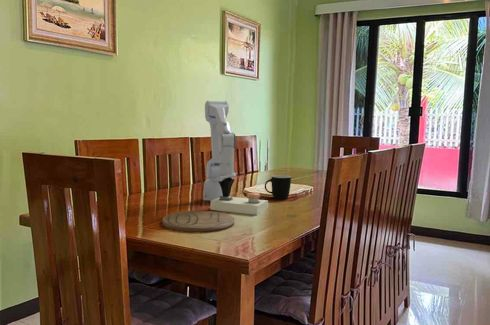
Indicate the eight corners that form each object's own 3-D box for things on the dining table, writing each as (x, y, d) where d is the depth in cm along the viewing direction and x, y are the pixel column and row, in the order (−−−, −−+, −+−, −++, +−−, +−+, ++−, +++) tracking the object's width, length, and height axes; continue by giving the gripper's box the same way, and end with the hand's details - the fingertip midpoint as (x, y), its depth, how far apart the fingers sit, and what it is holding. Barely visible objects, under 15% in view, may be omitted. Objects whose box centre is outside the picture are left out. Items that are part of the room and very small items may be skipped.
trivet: (229, 215, 169) (229, 210, 169) (239, 232, 145) (239, 227, 144) (162, 216, 165) (162, 211, 165) (161, 234, 140) (161, 228, 140)
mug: (290, 196, 208) (290, 175, 207) (290, 200, 200) (291, 178, 198) (264, 195, 209) (265, 174, 208) (263, 199, 200) (264, 177, 199)
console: (210, 209, 176) (210, 201, 176) (223, 204, 187) (223, 196, 187) (257, 214, 169) (257, 205, 169) (267, 209, 180) (267, 200, 180)
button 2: (244, 203, 174) (245, 194, 174) (249, 200, 179) (249, 192, 179) (257, 204, 172) (257, 195, 172) (261, 202, 177) (262, 193, 177)
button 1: (217, 205, 179) (217, 196, 178) (222, 203, 184) (222, 194, 183) (229, 206, 177) (229, 198, 176) (234, 204, 182) (234, 195, 181)
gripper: (228, 165, 170) (227, 200, 172) (242, 162, 184) (241, 194, 185) (211, 164, 173) (211, 198, 174) (227, 161, 186) (226, 193, 188)
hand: (226, 196), depth 180 cm, fingers closed, pressing on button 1
